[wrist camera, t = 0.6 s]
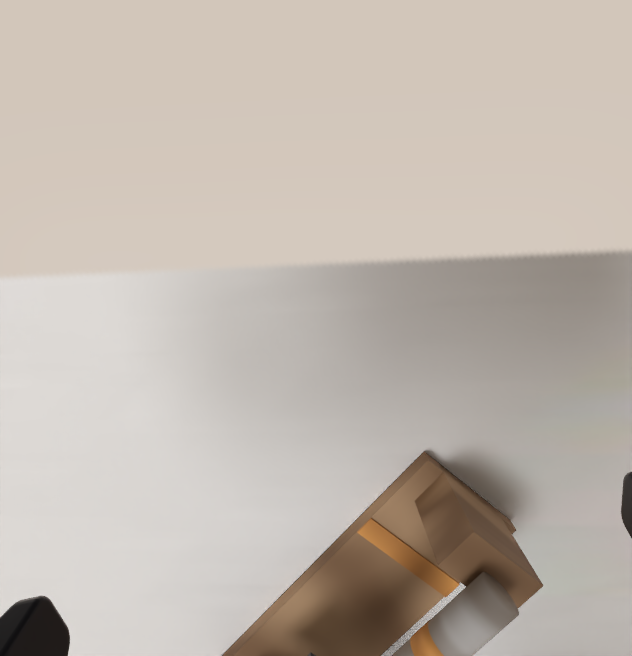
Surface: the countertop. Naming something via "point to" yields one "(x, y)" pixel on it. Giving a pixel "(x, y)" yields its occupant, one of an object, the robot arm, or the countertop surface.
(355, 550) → the rail
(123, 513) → the countertop surface
